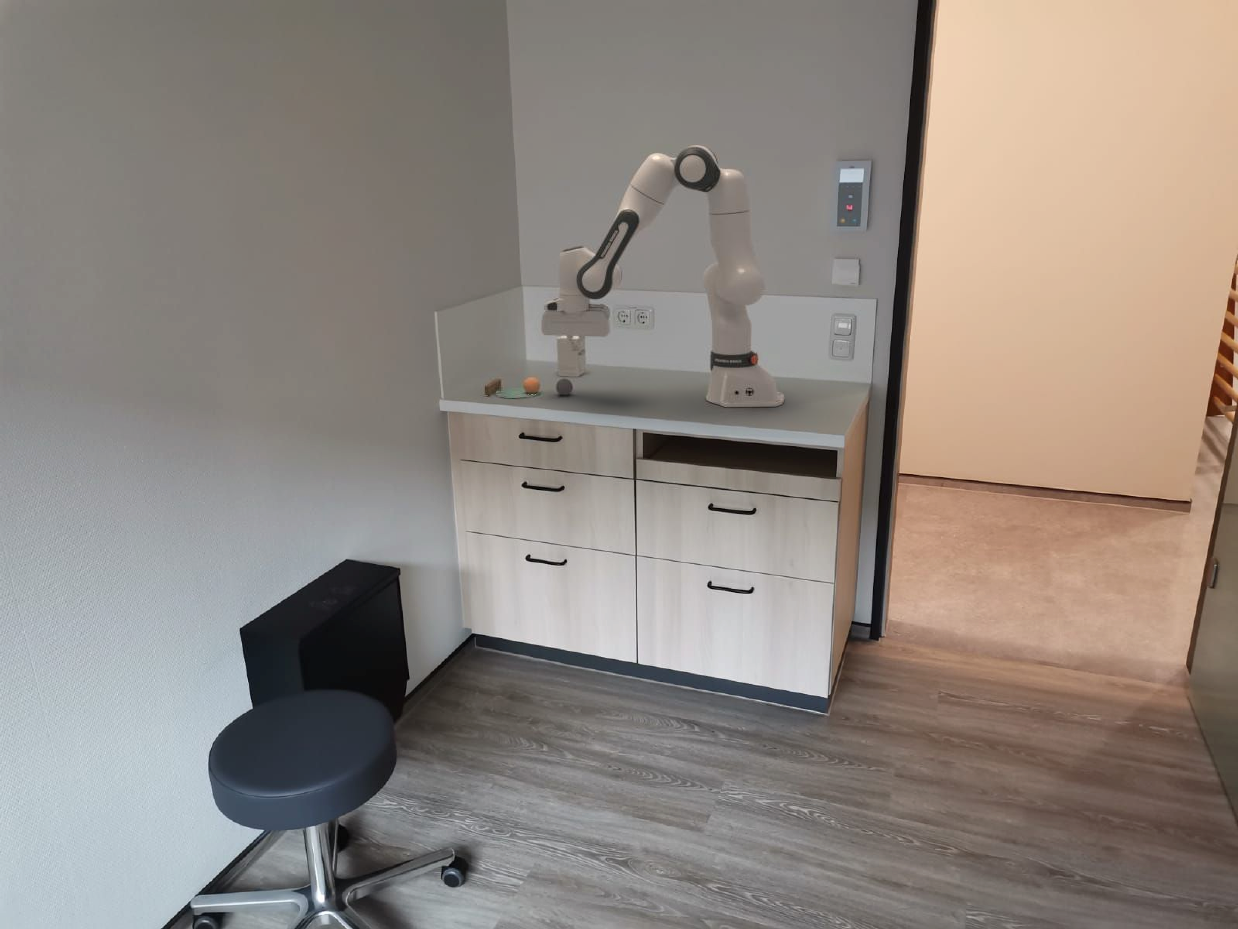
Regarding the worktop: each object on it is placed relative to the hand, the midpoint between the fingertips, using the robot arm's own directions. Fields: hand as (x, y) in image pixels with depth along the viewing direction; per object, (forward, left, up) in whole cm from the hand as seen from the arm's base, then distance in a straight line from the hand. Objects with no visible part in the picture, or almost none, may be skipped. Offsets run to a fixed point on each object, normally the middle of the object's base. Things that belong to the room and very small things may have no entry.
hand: (576, 350), depth 270 cm
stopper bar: (+27, 0, -14) cm, 30 cm away
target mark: (+19, 0, -14) cm, 23 cm away
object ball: (+14, 0, -11) cm, 18 cm away
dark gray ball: (+4, 0, -11) cm, 12 cm away
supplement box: (+9, -27, -14) cm, 32 cm away
